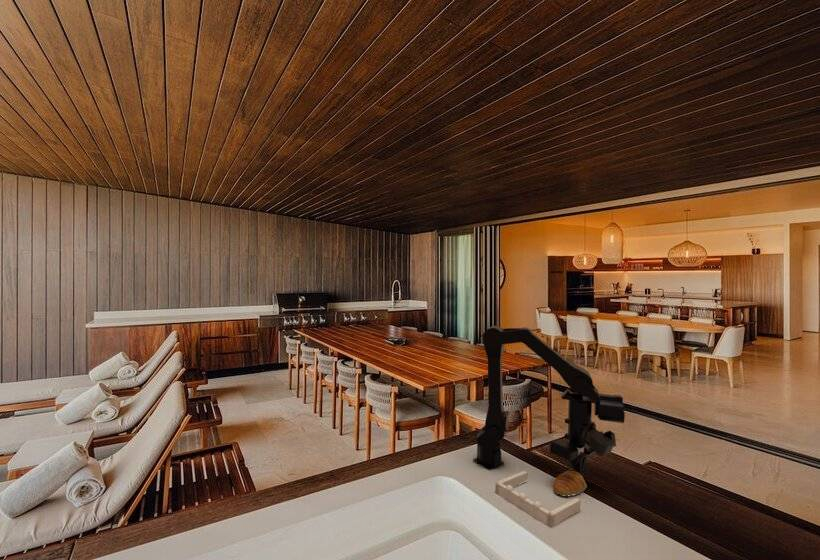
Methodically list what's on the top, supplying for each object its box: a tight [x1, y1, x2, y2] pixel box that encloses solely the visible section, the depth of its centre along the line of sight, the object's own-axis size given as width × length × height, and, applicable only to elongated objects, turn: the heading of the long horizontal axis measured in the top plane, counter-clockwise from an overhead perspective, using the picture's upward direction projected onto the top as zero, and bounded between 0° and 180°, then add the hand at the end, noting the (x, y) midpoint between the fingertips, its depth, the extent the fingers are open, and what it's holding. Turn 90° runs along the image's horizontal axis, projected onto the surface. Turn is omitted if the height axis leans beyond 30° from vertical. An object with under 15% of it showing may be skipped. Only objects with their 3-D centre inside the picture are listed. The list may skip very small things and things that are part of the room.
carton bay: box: [494, 470, 581, 528], centre depth 91 cm, size 16×11×3 cm
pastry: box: [552, 469, 588, 496], centre depth 97 cm, size 9×7×4 cm
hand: (578, 475), depth 101 cm, fingers closed
